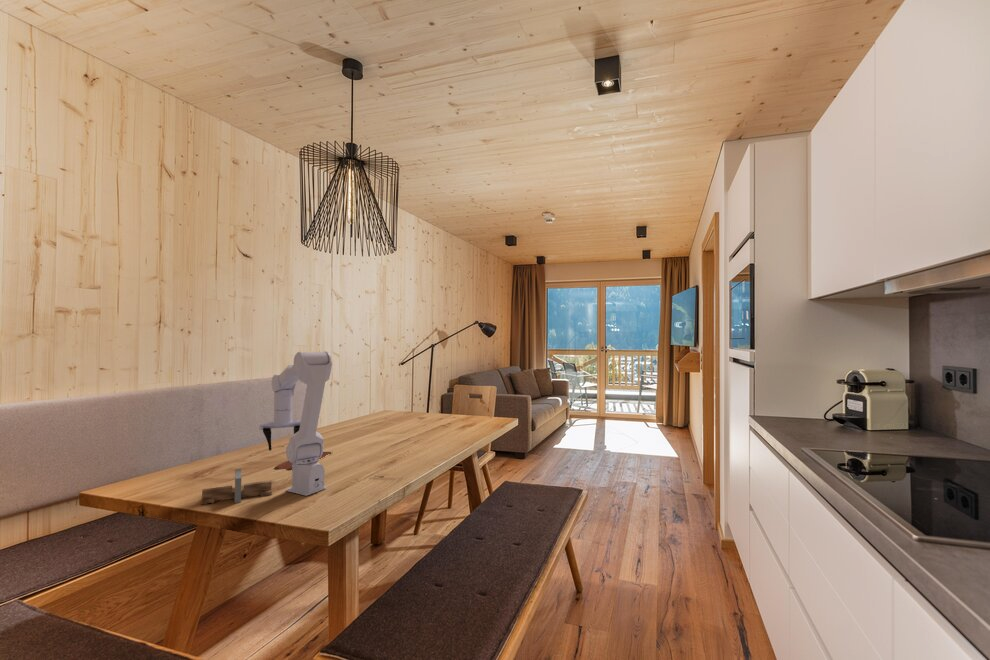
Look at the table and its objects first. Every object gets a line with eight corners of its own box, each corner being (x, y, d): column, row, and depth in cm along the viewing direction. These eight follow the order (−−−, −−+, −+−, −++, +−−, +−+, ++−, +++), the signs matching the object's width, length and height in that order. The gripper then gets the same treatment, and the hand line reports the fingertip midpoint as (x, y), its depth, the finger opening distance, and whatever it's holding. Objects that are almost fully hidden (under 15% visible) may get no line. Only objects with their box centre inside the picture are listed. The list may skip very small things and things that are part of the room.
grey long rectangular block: (240, 502, 132) (241, 478, 132) (234, 503, 131) (235, 478, 131) (240, 491, 141) (241, 469, 141) (234, 492, 140) (235, 469, 140)
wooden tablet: (296, 473, 162) (297, 468, 162) (272, 470, 164) (272, 466, 164) (336, 453, 188) (337, 449, 188) (315, 452, 190) (315, 448, 190)
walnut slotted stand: (270, 489, 142) (270, 478, 143) (271, 494, 138) (271, 483, 138) (202, 499, 134) (203, 487, 134) (201, 505, 129) (201, 492, 129)
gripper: (304, 406, 164) (303, 443, 164) (259, 409, 157) (258, 448, 157) (306, 409, 158) (306, 448, 157) (259, 412, 151) (259, 453, 150)
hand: (282, 448), depth 157 cm, fingers open, 7 cm apart
